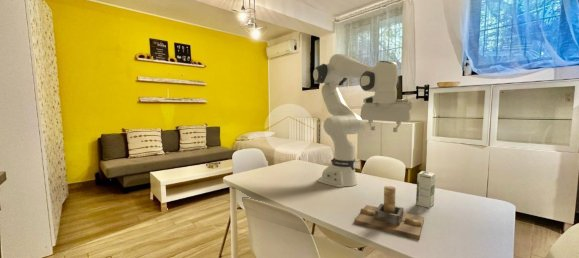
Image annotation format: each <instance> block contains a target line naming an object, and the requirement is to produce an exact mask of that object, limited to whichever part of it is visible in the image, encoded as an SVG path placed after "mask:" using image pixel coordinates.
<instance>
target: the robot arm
mask: <svg viewBox="0 0 579 258" xmlns="http://www.w3.org/2000/svg"><path fill="white" fill-rule="evenodd" d="M328 61H329V62H328V63H327V64H325V63H321V64H320V65H317V66H315V68H314V69H313V72H312V77H313V80H314V81H315V83H317V84H323V85H322V86H321V88H320V89H321V96H322V98H323V101H324V104H325V106H326V110H327V112H328V113H329V114H330V115H332V116H328V117H326V118H325V120H324V122H323V130H324V132H325V133H326V135H328V136H329V137H330V138H331V140H332V143H333V145H334V146H333V147H334V157H333V158H332V159H330V163H331V164H330V165H329V166H327V167H326V168H324V170H322V173H321V176H320V177H319V178H318V179H317V182H318V183H321V184H324V185H328V186H333V187H337V188H343V187H353V186H356V185H358V180H357V177H356V176H357V175H356V158H355V153H356V152H355V145H354V143H353V142H351V141H350V140H349V139H348V135H355V134H356V135H357V134H359V133H362V132H363V131H364V130H365V129H366V121H367V123H368V125H369V126H370V131H375V130H376V126H374V125H373V123H374V122H373V121H377V122H378V121H381V122H396V126H395V127H393V128H392V129H393V130H392V132H393V133H398V130H399V128H400V126H401V124H402V123H408V122H410V121H411V109H412V108H413V103H412V101H411V100H408V98H407V99H401V98H400V99H399V98H397V97H398V90H397V88H398V87H399V85H400V77H399V71H398V65H397V63H396V62H395V61H392V60H380V61H379V60H378V61H377V63H376V65H374V67H373V66H369V65H368V64H365V63H363V62H361V61H359V60H357V59H355V58H353V57H351V56H349V55H346V54H342V53H335V54H333V55H332V56H331V57H330V58H329V60H328ZM348 79H359V86H360V87H361V89H362V91H364V92H368V93H371V92H372V93H374V95H371V96H368V97H364V98H363V104H362V106H361V108H360V115H359V114H357V113H356V112H354V111H353V110H352V109H351V108H350V107H349V106H348V105H347V102H346V101H345V99H344V97H343V95H342V92H341V91H340V88H339V86H340V87H341V86H343V85H344V83H346V81H347V80H348Z"/></svg>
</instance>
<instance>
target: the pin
mask: <svg viewBox="0 0 579 258" xmlns="http://www.w3.org/2000/svg"><path fill="white" fill-rule="evenodd" d="M396 189H397V188H396V187H395V186H391V185H385V186H384V187H383V204H384V212H388V213H392V214H395V206H396Z"/></svg>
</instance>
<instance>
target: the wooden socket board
mask: <svg viewBox="0 0 579 258" xmlns="http://www.w3.org/2000/svg"><path fill="white" fill-rule="evenodd" d="M359 211H360V212H359V214H358V215H356V216H355V218H354V219H353V220H354V222H353V223H354V224H355V225H358V226H363V227H368V228H370V229H375V230H378V231H379V230H380V231H384V232H387V233H390V234H395V235H398V236H402V237H405V238H410V239H414V240H418V241H419V240H420V238H421V235H422V230H423V227H424V222H425V216H421V215H416V214H412V213H407V212H404V207H402V206H396V205H395V214H392V213H388V212H384V203H379V205H378V206H372V205H369V204H368V205H367V204H366V205H365V206H364V208H361V209H360V210H359Z"/></svg>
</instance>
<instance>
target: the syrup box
mask: <svg viewBox="0 0 579 258" xmlns="http://www.w3.org/2000/svg"><path fill="white" fill-rule="evenodd" d="M416 179H417V180H416V196H415V197H416V198H415V205H416V206H419V207H423V208H428V209H431V208H432V207H433V206H434V204H435V189H436V173H433V172H430V171H426V170H425V171H424V170H422V171H420V172H419V173H417V178H416Z"/></svg>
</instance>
